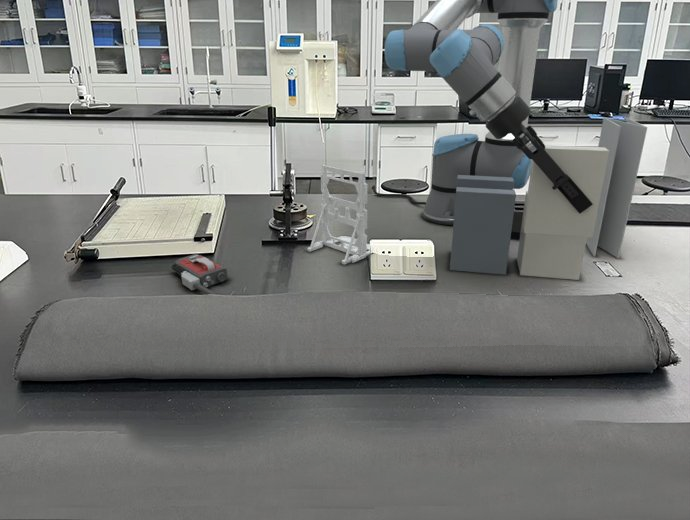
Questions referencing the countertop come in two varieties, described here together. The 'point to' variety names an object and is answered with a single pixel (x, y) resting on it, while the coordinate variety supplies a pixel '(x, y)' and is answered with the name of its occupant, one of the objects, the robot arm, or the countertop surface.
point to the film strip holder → (360, 224)
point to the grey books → (482, 224)
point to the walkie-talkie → (199, 272)
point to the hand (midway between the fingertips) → (583, 205)
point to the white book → (551, 205)
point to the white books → (550, 254)
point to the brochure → (617, 182)
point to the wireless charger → (516, 225)
